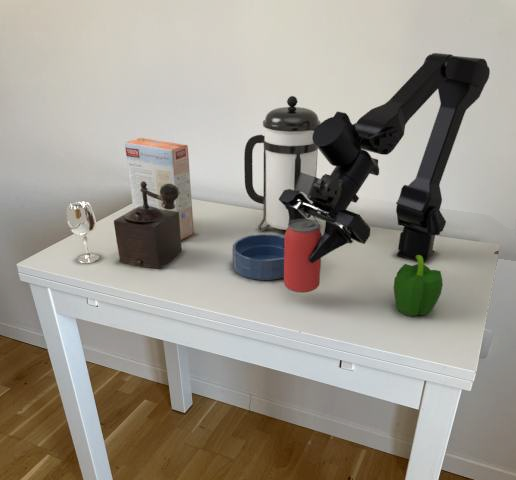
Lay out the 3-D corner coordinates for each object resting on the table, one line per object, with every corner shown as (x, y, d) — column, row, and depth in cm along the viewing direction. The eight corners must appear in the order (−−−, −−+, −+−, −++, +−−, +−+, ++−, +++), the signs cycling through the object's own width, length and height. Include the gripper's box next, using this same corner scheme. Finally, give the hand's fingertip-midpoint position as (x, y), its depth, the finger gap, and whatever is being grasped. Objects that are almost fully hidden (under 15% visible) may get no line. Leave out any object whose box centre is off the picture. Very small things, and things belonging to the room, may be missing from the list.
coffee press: (310, 214, 141) (317, 89, 125) (325, 238, 128) (334, 101, 111) (244, 218, 139) (242, 91, 123) (252, 242, 126) (251, 103, 109)
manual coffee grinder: (116, 263, 116) (102, 179, 106) (143, 244, 125) (133, 165, 115) (180, 275, 111) (172, 188, 101) (203, 254, 120) (198, 173, 110)
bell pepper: (433, 325, 94) (444, 274, 89) (386, 316, 97) (394, 265, 92) (439, 304, 101) (449, 254, 95) (395, 296, 104) (403, 247, 98)
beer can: (324, 291, 98) (328, 228, 92) (290, 296, 97) (292, 233, 90) (311, 275, 104) (314, 215, 97) (279, 280, 102) (279, 219, 96)
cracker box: (195, 234, 130) (189, 144, 119) (179, 242, 126) (171, 149, 114) (151, 222, 136) (141, 136, 125) (135, 230, 132) (123, 141, 121)
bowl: (309, 263, 116) (310, 243, 114) (274, 287, 107) (274, 266, 104) (257, 248, 123) (257, 229, 120) (219, 269, 113) (219, 250, 111)
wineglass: (107, 256, 119) (98, 203, 113) (90, 266, 115) (80, 211, 108) (87, 251, 121) (77, 199, 115) (69, 261, 117) (58, 207, 110)
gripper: (287, 143, 96) (239, 217, 96) (365, 165, 83) (310, 250, 84) (317, 179, 104) (273, 247, 104) (393, 204, 92) (342, 281, 92)
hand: (296, 255), depth 96 cm, fingers closed on beer can, 6 cm apart
